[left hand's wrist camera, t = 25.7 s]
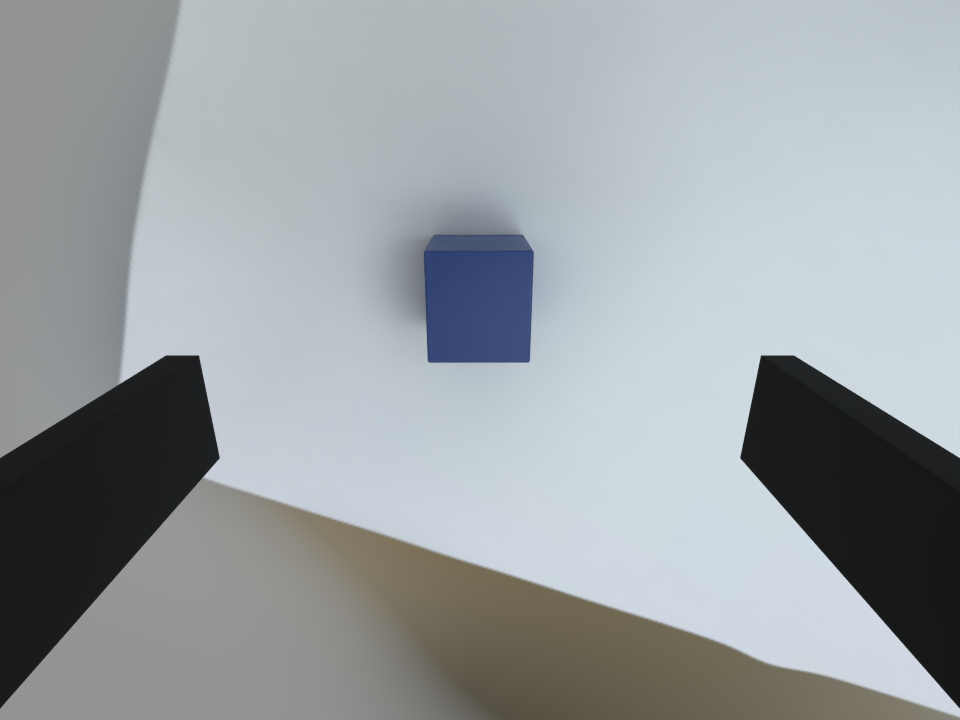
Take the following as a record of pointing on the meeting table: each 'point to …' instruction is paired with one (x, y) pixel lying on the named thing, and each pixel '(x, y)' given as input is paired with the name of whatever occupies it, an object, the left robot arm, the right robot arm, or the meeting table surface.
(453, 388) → the meeting table surface
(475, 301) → the block
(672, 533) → the meeting table surface
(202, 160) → the meeting table surface
